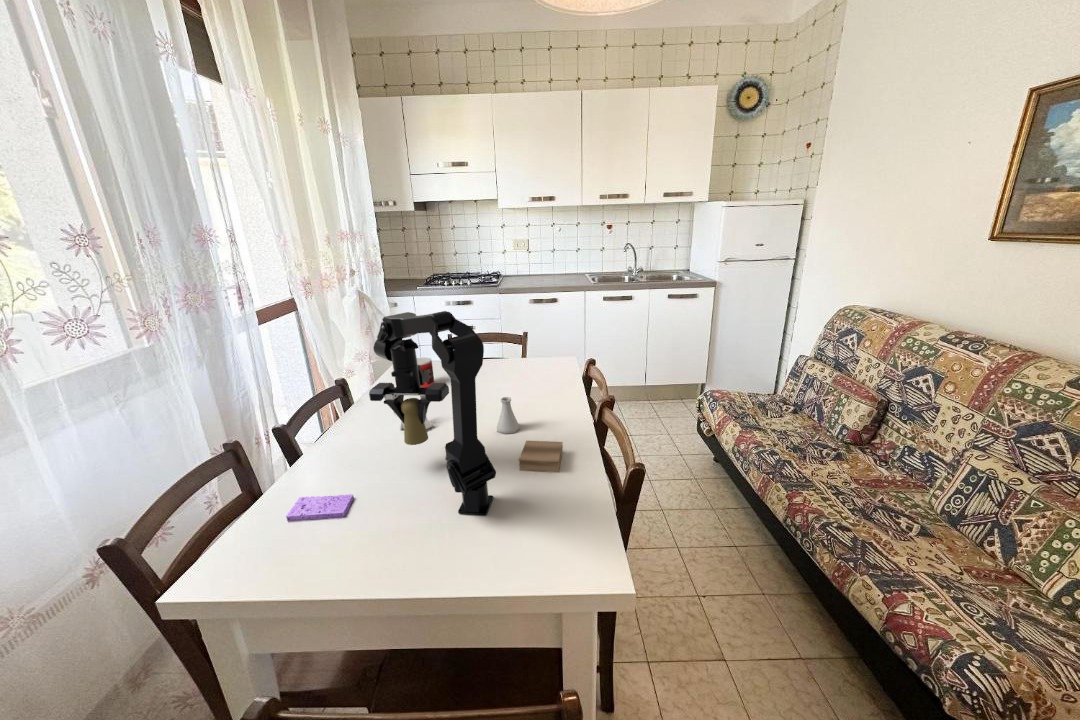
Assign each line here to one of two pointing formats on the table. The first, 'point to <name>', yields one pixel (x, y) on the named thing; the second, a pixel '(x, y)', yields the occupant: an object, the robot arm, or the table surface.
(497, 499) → the table surface
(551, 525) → the table surface
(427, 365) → the canned food
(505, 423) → the flask
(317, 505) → the sponges
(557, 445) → the walnut block
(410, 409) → the olive pawn
